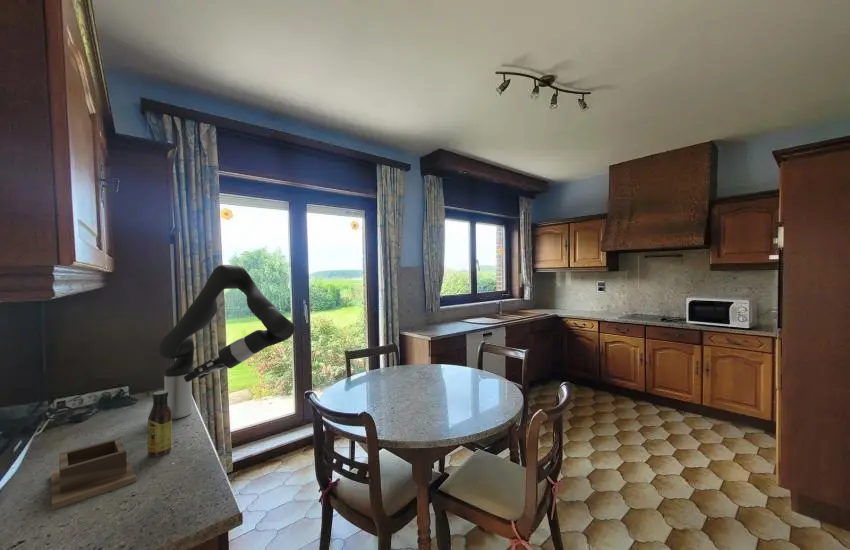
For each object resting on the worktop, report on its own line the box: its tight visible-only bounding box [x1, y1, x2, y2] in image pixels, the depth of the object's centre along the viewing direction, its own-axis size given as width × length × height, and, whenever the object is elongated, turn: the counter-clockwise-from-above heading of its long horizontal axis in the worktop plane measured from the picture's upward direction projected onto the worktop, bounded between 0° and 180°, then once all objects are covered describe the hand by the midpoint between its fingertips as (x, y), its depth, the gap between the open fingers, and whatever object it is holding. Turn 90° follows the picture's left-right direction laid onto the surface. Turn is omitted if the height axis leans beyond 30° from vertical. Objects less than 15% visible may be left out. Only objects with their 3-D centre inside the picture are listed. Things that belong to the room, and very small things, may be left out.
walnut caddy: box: [51, 437, 137, 511], centre depth 98 cm, size 22×16×8 cm
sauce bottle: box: [147, 389, 173, 458], centre depth 113 cm, size 6×6×20 cm
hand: (192, 377), depth 118 cm, fingers open, 8 cm apart
